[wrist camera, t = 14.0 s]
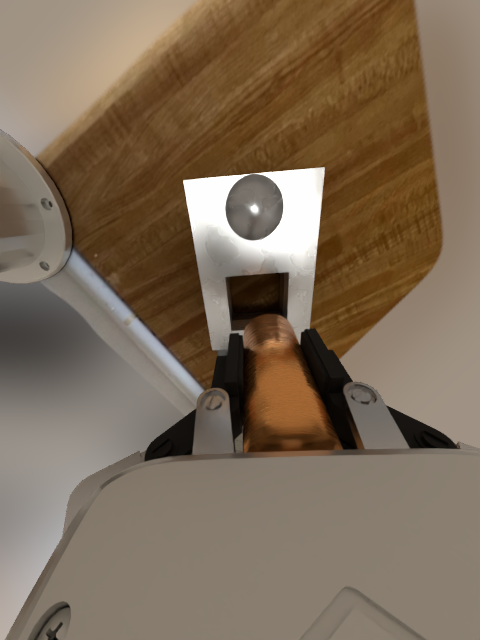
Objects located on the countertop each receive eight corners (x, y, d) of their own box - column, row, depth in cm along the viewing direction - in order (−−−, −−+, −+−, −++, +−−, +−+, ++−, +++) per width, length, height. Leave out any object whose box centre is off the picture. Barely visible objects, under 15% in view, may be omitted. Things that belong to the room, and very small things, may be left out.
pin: (244, 357, 15) (245, 491, 8) (241, 315, 13) (238, 435, 6) (292, 355, 15) (337, 489, 8) (295, 312, 13) (355, 431, 6)
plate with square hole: (195, 186, 17) (183, 180, 13) (306, 176, 17) (324, 167, 13) (216, 328, 23) (212, 350, 20) (297, 323, 23) (307, 344, 19)
